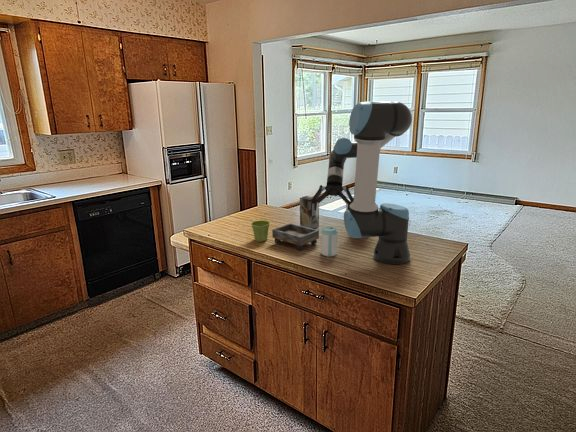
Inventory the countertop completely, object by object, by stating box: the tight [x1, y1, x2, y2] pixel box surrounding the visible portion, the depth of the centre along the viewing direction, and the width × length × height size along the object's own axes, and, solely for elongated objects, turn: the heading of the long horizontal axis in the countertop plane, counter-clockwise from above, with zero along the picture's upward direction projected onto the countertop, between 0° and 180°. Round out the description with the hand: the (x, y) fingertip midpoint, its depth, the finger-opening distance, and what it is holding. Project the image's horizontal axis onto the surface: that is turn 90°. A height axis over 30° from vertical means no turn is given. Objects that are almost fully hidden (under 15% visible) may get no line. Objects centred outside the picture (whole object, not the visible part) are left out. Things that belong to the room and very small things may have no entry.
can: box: [320, 226, 338, 258], centre depth 165 cm, size 7×7×12 cm
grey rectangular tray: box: [271, 222, 320, 252], centre depth 179 cm, size 18×13×7 cm
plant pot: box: [250, 219, 271, 243], centre depth 185 cm, size 9×9×9 cm
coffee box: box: [299, 195, 320, 229], centre depth 204 cm, size 9×6×16 cm
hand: (331, 216), depth 172 cm, fingers open, 13 cm apart
